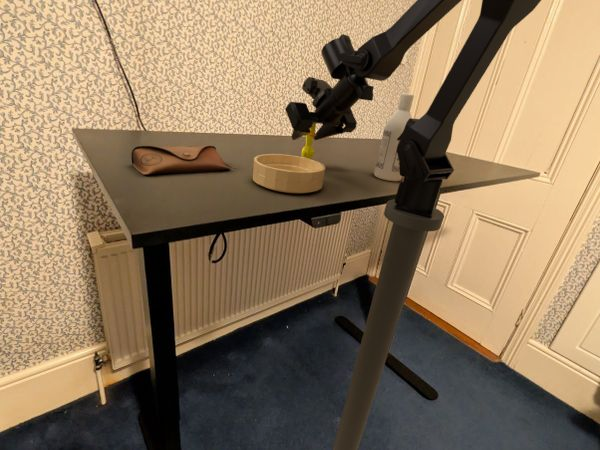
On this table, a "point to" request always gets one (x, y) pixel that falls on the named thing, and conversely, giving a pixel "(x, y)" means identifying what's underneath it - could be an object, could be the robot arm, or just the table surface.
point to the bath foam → (393, 141)
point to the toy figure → (309, 143)
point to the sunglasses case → (176, 159)
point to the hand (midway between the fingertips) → (303, 138)
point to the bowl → (288, 173)
